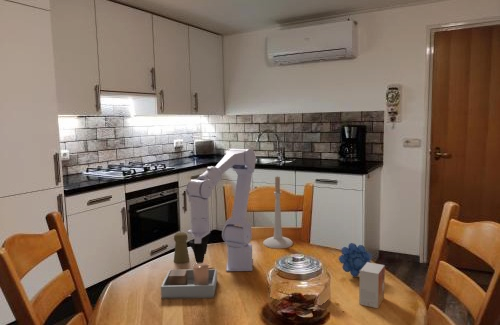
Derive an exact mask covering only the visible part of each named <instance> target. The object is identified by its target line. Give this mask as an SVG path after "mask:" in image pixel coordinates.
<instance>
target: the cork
mask: <svg viewBox="0 0 500 325" xmlns="http://www.w3.org/2000/svg"><path fill="white" fill-rule="evenodd" d="M173 240H174V242H175V243H174V244H175V245H174V256H173V262H174V263H176V264H186V263H188V262H189V261H190V254H189V248H188V242H187V241H188V233H186V232H182V231H181V232H180V231H179V232H177V233H175V234H174V235H173Z"/></svg>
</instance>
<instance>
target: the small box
mask: <svg viewBox="0 0 500 325" xmlns="http://www.w3.org/2000/svg"><path fill="white" fill-rule="evenodd" d="M370 262H371V261H370ZM370 262H367V263H366V264H365V265H364V267H363V268H362V269H361V270H360V273H359V282H358V283H359V289H358V290H359V292H358V294H359V295H358V304H359V305H361V306H366V307H369V308H374V309H379V308H380V305H381V304H382V302H383V300H384V299H385V281H386V280H385V277H386V276H385V275H386V272H385V271H386V265H385V264H380V263H374V262H371V263H370ZM383 298H384V299H383ZM380 303H381V304H380Z"/></svg>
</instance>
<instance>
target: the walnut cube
mask: <svg viewBox="0 0 500 325" xmlns="http://www.w3.org/2000/svg"><path fill="white" fill-rule="evenodd" d="M171 270H172V271H171V273H170V275H169V286H176V285H187V284H188V283H187V270H182V269H171Z"/></svg>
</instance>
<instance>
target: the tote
mask: <svg viewBox="0 0 500 325" xmlns="http://www.w3.org/2000/svg"><path fill="white" fill-rule="evenodd" d="M172 270H173V269H168V271H167V274H166V275H165V277H164V279H163V281H162V283H161V286H160V295H161V296H160V297H161V300H171V299H172V300H174V299H175V300H178V299H183V300H184V299H185V300H186V299H214V297H215V292H216V288H217V283H218V270H217V268H208V272H209V285H194V270H193V269H190V268H187V269H185V268H184V269H183V268H182V269H181V270H187V283H188V284H187V285H176V286H169V275H170V273H171V271H172Z"/></svg>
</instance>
